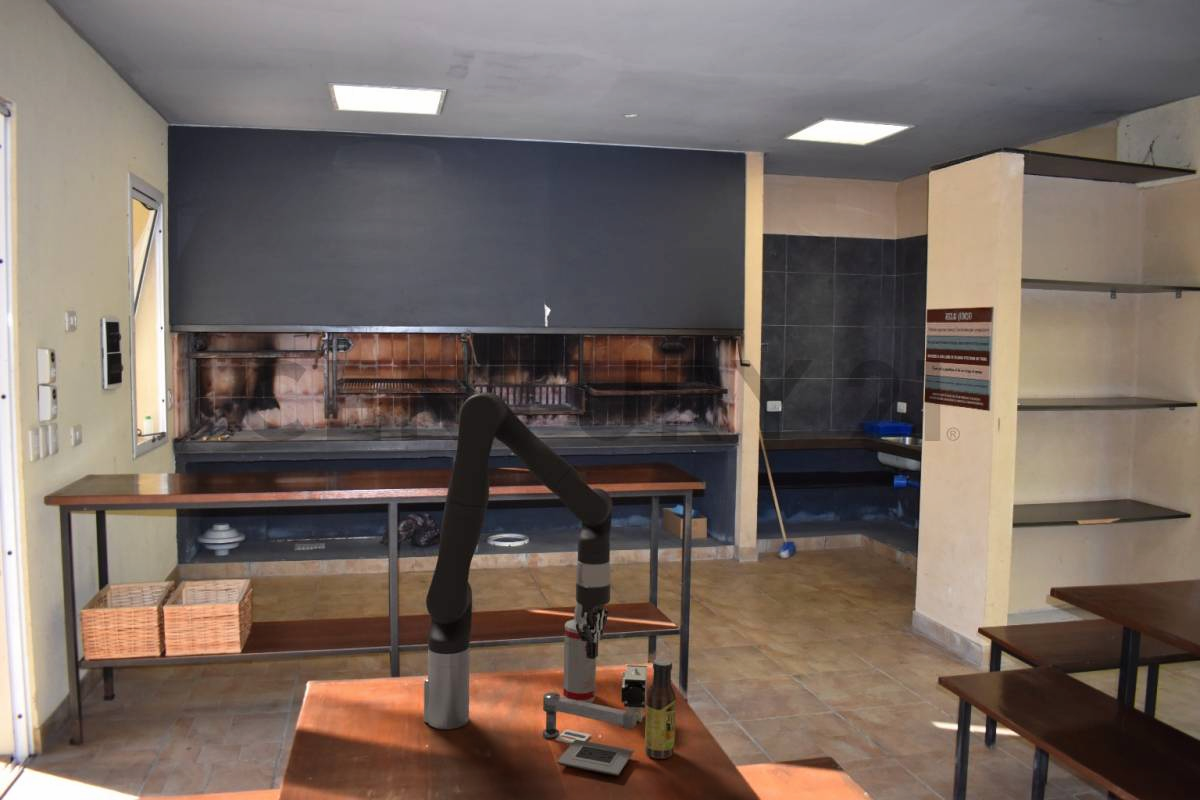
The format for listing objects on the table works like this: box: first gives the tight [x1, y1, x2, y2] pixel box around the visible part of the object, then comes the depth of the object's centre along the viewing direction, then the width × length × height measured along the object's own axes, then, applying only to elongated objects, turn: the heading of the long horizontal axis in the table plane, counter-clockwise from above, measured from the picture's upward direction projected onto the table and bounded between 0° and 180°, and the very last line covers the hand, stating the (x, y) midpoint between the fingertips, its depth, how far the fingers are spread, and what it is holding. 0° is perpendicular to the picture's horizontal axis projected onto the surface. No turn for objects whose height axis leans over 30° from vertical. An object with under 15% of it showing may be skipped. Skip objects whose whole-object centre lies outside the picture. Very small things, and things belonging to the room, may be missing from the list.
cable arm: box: [542, 692, 637, 730], centre depth 193 cm, size 21×4×3 cm, turn 66°
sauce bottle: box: [644, 658, 677, 760], centre depth 189 cm, size 6×6×20 cm
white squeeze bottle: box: [562, 601, 597, 703], centre depth 216 cm, size 8×8×25 cm
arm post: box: [542, 712, 560, 740], centre depth 197 cm, size 4×4×6 cm
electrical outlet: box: [556, 739, 635, 777], centre depth 185 cm, size 13×10×2 cm
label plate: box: [555, 728, 592, 745], centre depth 196 cm, size 6×5×1 cm
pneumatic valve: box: [621, 664, 648, 723], centre depth 206 cm, size 6×12×12 cm, turn 175°
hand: (592, 657), depth 198 cm, fingers closed
